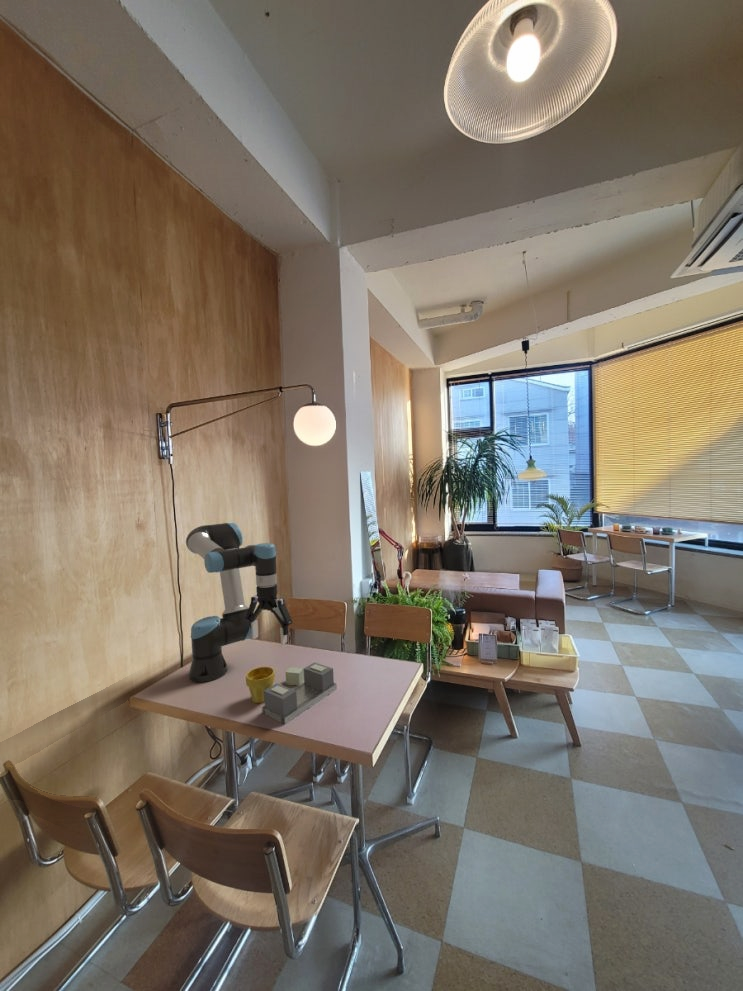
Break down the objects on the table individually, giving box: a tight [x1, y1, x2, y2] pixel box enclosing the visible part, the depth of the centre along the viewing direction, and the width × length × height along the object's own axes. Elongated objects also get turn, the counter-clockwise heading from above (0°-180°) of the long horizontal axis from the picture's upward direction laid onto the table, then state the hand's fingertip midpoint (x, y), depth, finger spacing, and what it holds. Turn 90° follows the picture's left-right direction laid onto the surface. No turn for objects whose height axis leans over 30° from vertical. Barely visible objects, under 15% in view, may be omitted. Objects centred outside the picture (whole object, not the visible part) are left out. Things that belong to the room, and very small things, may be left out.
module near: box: [263, 683, 297, 716], centre depth 136 cm, size 10×6×6 cm, turn 54°
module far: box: [303, 662, 335, 690], centre depth 152 cm, size 10×6×6 cm, turn 54°
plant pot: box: [245, 666, 276, 704], centre depth 147 cm, size 10×10×10 cm
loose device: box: [285, 667, 304, 686], centre depth 158 cm, size 6×4×5 cm, turn 74°
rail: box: [261, 681, 338, 725], centre depth 144 cm, size 12×26×2 cm, turn 144°
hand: (269, 640), depth 147 cm, fingers open, 13 cm apart
